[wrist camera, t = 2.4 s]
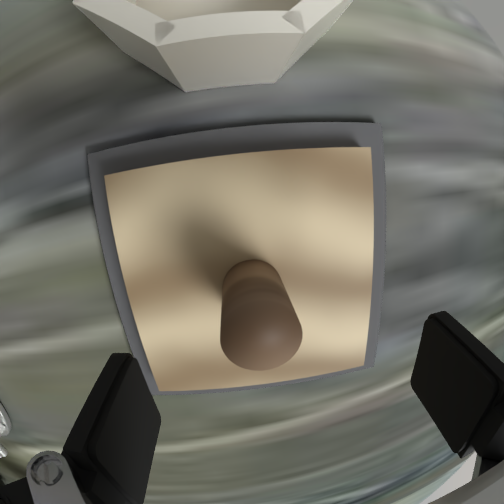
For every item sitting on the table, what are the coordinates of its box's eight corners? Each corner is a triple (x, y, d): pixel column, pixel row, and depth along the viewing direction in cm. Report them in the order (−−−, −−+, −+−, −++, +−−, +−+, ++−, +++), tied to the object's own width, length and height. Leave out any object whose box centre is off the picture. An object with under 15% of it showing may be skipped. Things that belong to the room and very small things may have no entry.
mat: (370, 362, 20) (373, 366, 20) (150, 389, 20) (148, 395, 19) (376, 124, 15) (381, 123, 15) (91, 154, 15) (87, 154, 14)
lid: (357, 355, 19) (393, 414, 13) (162, 380, 19) (145, 447, 13) (361, 147, 15) (425, 144, 9) (112, 174, 15) (52, 183, 9)
